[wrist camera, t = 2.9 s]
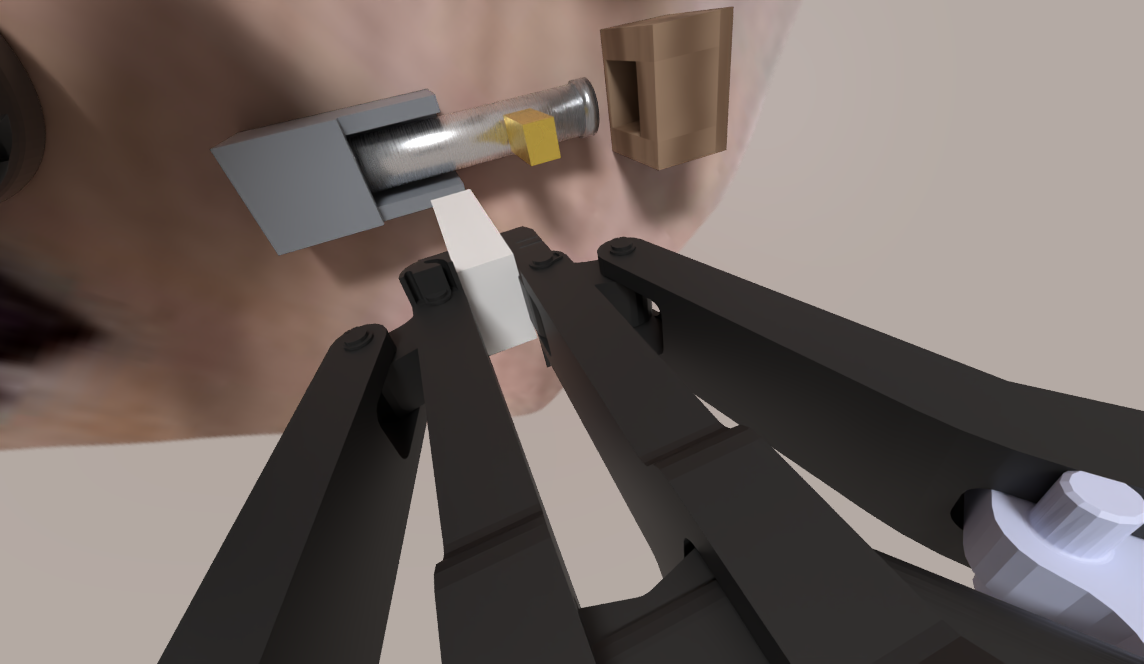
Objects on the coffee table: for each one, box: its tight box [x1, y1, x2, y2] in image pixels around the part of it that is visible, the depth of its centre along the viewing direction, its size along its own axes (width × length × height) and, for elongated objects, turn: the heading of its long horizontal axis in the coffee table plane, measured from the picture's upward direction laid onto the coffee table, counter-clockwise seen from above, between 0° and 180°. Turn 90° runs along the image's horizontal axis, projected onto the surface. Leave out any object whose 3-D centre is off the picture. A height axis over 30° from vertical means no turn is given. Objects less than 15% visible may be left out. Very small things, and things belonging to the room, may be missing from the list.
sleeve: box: [210, 89, 465, 255], centre depth 29 cm, size 13×7×6 cm, turn 100°
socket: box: [600, 7, 734, 170], centre depth 33 cm, size 6×9×8 cm, turn 10°
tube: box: [347, 77, 599, 193], centre depth 28 cm, size 22×4×9 cm, turn 100°
